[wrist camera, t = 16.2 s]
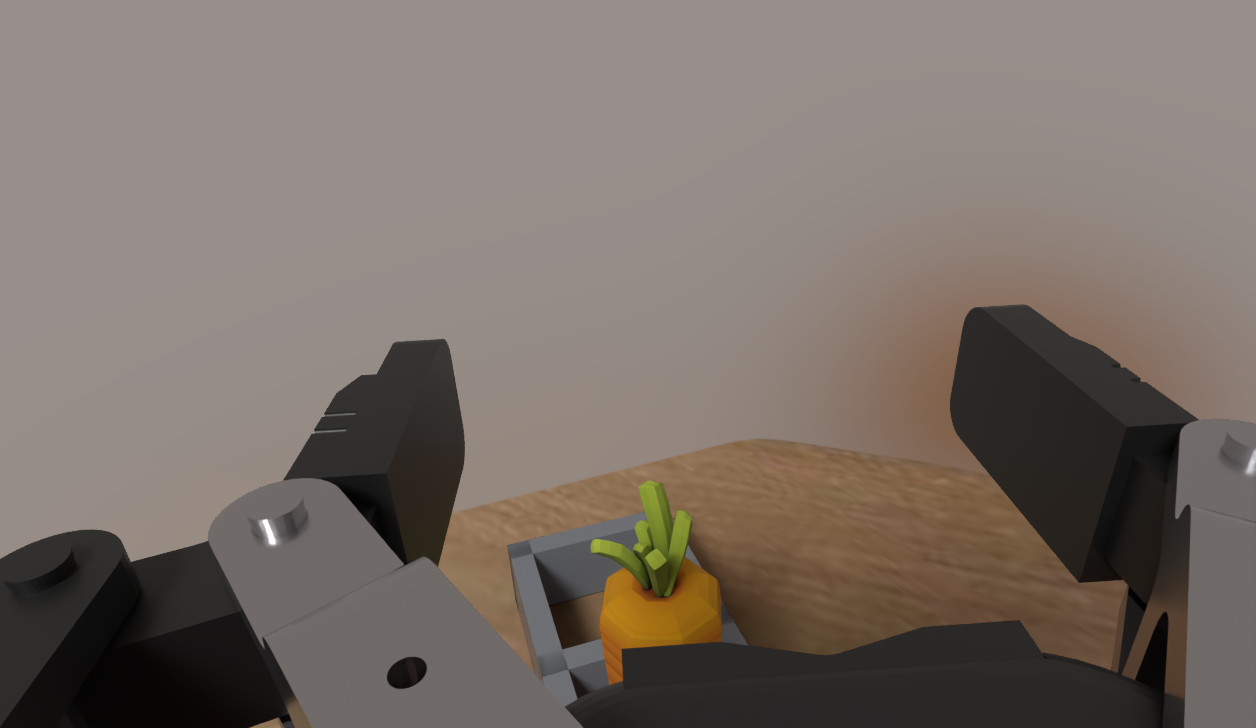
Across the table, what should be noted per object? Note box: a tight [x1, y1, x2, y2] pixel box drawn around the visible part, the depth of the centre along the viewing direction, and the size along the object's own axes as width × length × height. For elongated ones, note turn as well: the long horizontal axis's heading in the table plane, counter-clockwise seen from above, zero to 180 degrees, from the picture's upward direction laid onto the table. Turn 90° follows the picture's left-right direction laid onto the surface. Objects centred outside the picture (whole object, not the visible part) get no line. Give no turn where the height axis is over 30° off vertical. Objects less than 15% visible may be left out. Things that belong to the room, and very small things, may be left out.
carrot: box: [590, 480, 722, 685], centre depth 30 cm, size 5×5×15 cm
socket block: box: [507, 512, 748, 707], centre depth 37 cm, size 14×18×4 cm
